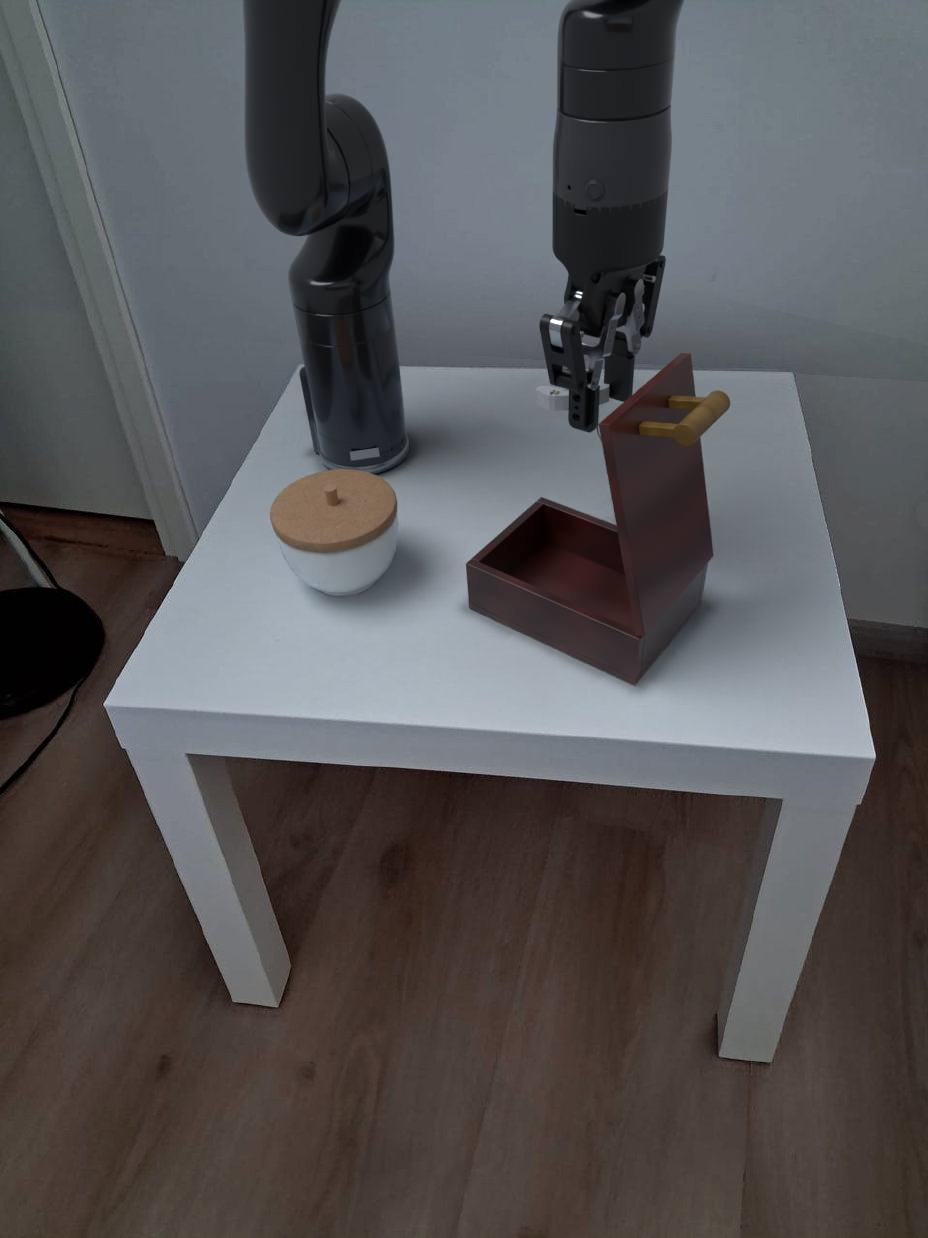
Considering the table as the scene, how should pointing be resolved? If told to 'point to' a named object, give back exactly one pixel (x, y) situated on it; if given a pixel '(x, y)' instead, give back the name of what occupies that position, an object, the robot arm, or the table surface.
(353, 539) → the trinket box
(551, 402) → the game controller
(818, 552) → the table surface
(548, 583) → the mahogany keepsake chest
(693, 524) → the cover
